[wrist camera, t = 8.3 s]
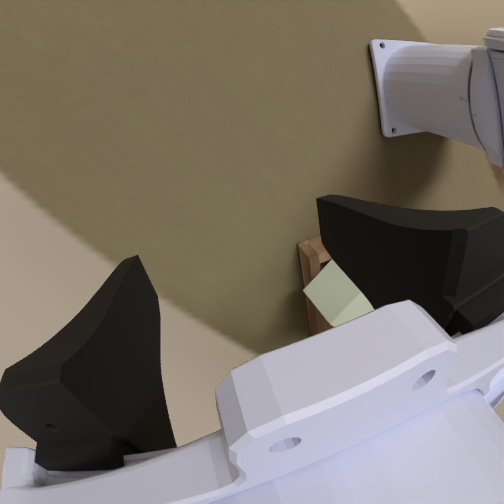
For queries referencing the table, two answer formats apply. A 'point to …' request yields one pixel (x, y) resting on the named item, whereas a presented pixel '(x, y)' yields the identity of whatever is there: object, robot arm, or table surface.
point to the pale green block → (337, 296)
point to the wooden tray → (311, 266)
